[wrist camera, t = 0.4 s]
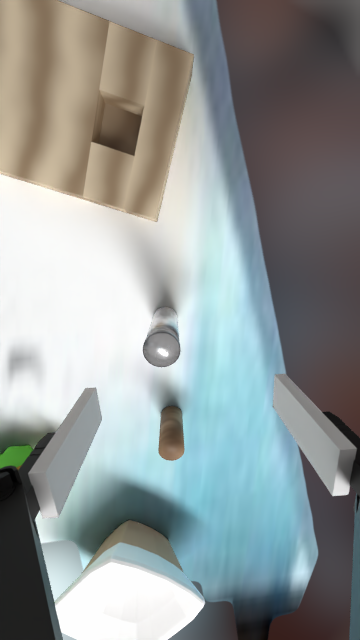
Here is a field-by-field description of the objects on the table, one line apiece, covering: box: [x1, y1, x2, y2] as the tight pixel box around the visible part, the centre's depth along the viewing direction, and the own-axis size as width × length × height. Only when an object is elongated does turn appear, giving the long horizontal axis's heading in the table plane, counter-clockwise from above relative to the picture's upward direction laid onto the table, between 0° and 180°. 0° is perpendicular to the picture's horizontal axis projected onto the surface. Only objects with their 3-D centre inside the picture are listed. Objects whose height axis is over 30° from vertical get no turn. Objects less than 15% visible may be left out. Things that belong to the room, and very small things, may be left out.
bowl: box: [54, 520, 205, 640], centre depth 46 cm, size 24×25×11 cm
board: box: [0, 0, 194, 222], centre depth 28 cm, size 24×18×3 cm
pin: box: [143, 307, 180, 367], centre depth 31 cm, size 4×4×13 cm
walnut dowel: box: [159, 406, 184, 460], centre depth 38 cm, size 4×4×8 cm
